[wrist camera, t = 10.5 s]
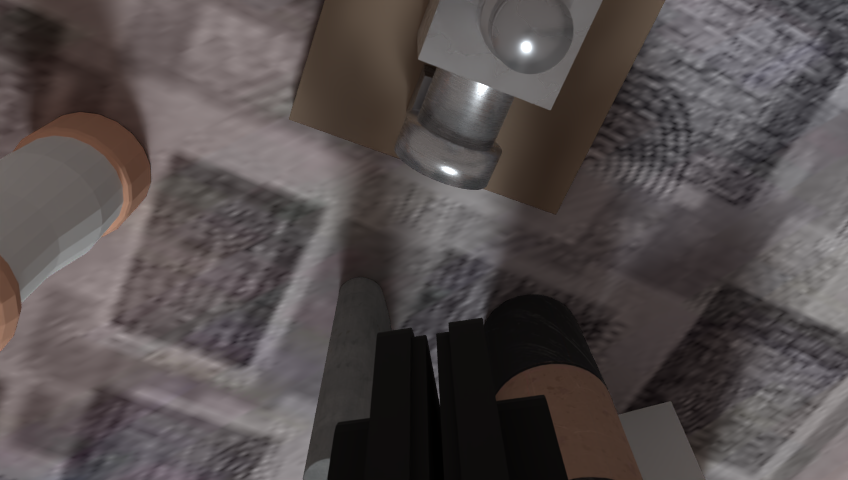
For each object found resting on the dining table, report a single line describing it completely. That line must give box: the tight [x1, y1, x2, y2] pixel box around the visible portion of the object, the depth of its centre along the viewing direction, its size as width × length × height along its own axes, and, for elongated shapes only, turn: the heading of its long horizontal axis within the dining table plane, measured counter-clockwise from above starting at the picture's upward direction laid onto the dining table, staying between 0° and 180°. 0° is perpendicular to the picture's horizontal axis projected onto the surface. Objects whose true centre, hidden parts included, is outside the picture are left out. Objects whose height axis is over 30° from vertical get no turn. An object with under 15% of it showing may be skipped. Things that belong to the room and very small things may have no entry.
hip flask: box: [303, 277, 391, 480], centre depth 42 cm, size 16×4×20 cm, turn 0°
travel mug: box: [484, 295, 643, 480], centre depth 41 cm, size 8×8×20 cm
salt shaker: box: [0, 112, 151, 351], centre depth 35 cm, size 7×7×19 cm
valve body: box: [394, 0, 603, 190], centre depth 34 cm, size 7×18×10 cm, turn 159°
